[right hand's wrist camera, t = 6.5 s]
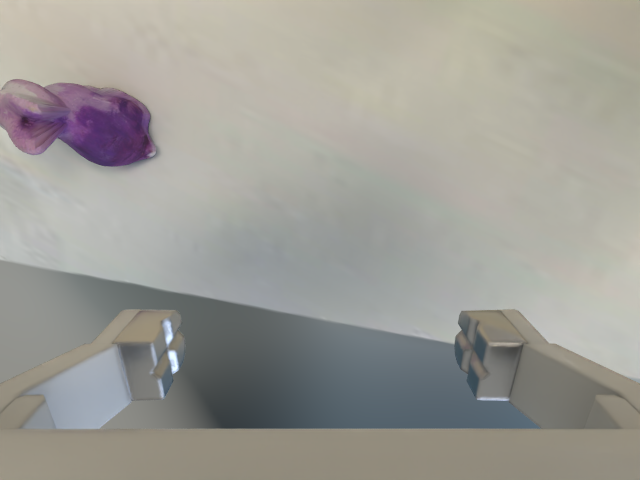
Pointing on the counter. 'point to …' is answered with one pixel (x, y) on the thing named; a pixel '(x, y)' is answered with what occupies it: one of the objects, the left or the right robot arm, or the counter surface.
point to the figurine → (76, 121)
